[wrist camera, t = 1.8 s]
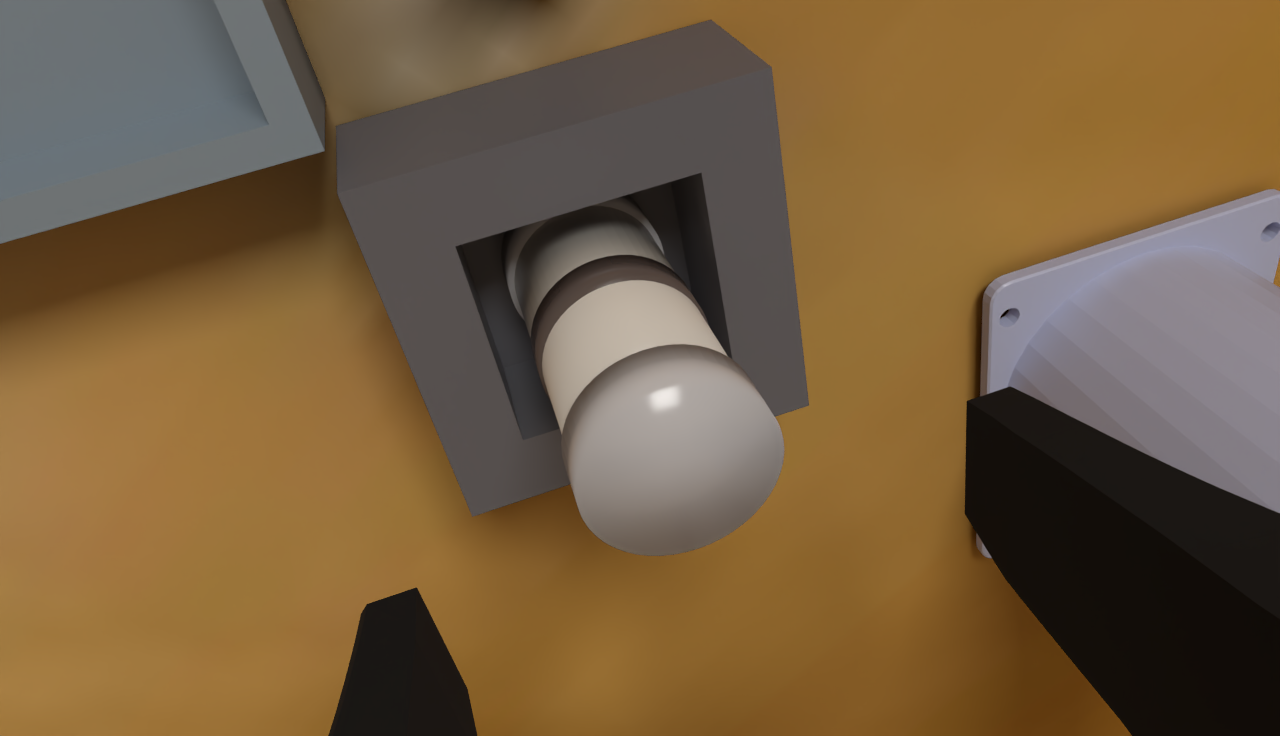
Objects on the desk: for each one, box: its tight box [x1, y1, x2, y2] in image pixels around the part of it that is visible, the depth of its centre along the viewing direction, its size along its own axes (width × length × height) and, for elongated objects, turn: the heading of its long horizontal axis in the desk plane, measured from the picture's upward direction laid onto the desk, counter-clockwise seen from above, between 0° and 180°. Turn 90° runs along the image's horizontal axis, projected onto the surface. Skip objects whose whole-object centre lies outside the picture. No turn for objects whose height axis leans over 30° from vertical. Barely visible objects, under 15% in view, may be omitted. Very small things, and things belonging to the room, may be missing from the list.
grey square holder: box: [336, 20, 809, 517], centre depth 18 cm, size 7×7×3 cm
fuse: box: [501, 195, 784, 556], centre depth 16 cm, size 3×3×7 cm
